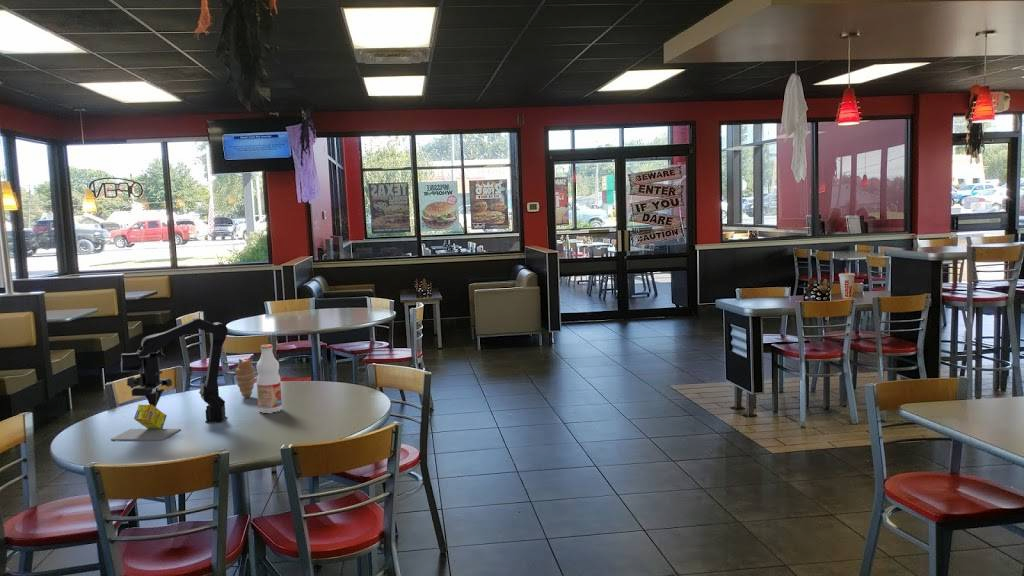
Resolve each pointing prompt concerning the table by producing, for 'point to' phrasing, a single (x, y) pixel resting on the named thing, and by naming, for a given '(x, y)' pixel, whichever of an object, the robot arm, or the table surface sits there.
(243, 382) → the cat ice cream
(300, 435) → the table surface
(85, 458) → the table surface
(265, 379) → the fruit juice
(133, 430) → the mat
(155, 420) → the supplement box
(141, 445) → the table surface
